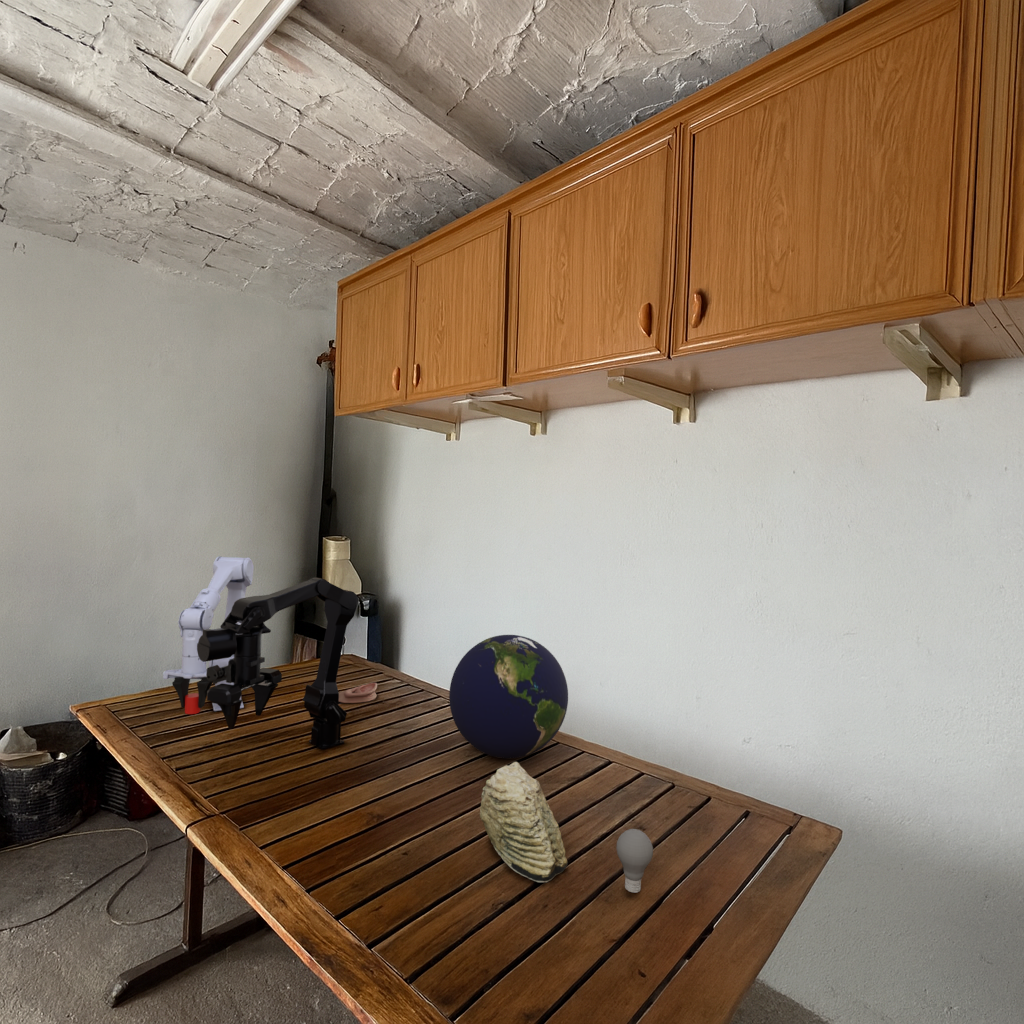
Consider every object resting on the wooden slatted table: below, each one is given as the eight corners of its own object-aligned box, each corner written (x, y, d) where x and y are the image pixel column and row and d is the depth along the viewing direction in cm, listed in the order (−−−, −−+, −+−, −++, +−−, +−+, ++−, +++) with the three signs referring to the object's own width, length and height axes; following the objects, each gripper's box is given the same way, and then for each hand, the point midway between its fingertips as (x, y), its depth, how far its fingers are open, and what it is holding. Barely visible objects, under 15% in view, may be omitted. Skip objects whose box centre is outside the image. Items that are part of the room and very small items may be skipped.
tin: (193, 708, 167) (193, 692, 167) (203, 710, 166) (204, 694, 165) (181, 712, 163) (181, 696, 163) (191, 715, 162) (192, 698, 162)
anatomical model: (326, 688, 195) (343, 678, 206) (325, 700, 195) (343, 690, 206) (366, 692, 192) (381, 682, 203) (365, 705, 192) (381, 694, 203)
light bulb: (610, 879, 108) (613, 822, 108) (644, 879, 109) (647, 822, 109) (619, 902, 102) (622, 840, 102) (655, 901, 103) (658, 840, 103)
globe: (495, 724, 181) (499, 619, 180) (587, 752, 163) (592, 636, 163) (421, 755, 157) (426, 635, 156) (520, 792, 139) (526, 657, 139)
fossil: (501, 827, 124) (504, 751, 124) (575, 868, 111) (578, 784, 111) (467, 843, 118) (470, 763, 118) (541, 889, 105) (545, 799, 105)
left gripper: (157, 657, 160) (156, 711, 160) (216, 659, 161) (215, 712, 161) (171, 650, 167) (169, 701, 167) (227, 652, 168) (225, 703, 168)
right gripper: (244, 642, 156) (242, 705, 156) (187, 659, 138) (184, 731, 138) (284, 646, 153) (281, 711, 153) (230, 665, 135) (228, 738, 135)
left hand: (192, 706), depth 164 cm, fingers closed on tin, 4 cm apart
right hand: (245, 721), depth 145 cm, fingers open, 9 cm apart
